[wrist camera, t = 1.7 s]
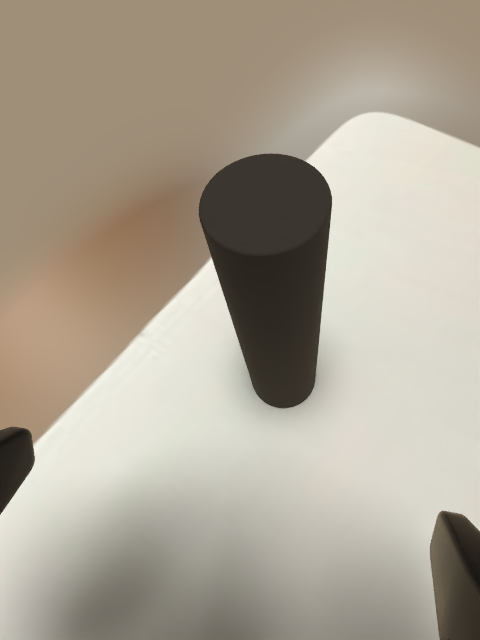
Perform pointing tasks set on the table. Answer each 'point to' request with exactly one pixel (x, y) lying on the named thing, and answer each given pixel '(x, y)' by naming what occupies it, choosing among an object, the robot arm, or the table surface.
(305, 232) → the post
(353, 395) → the table surface
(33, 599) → the table surface
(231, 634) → the table surface
